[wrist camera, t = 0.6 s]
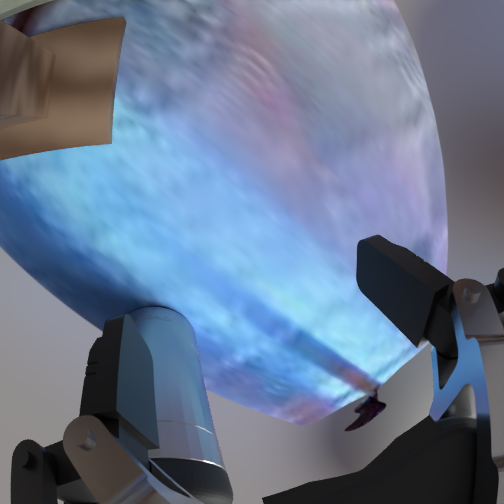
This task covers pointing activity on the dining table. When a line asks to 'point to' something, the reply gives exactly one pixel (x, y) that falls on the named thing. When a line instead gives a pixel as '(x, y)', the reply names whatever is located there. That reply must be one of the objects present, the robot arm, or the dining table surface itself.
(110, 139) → the tall stand
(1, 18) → the low stand
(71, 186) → the dining table surface
